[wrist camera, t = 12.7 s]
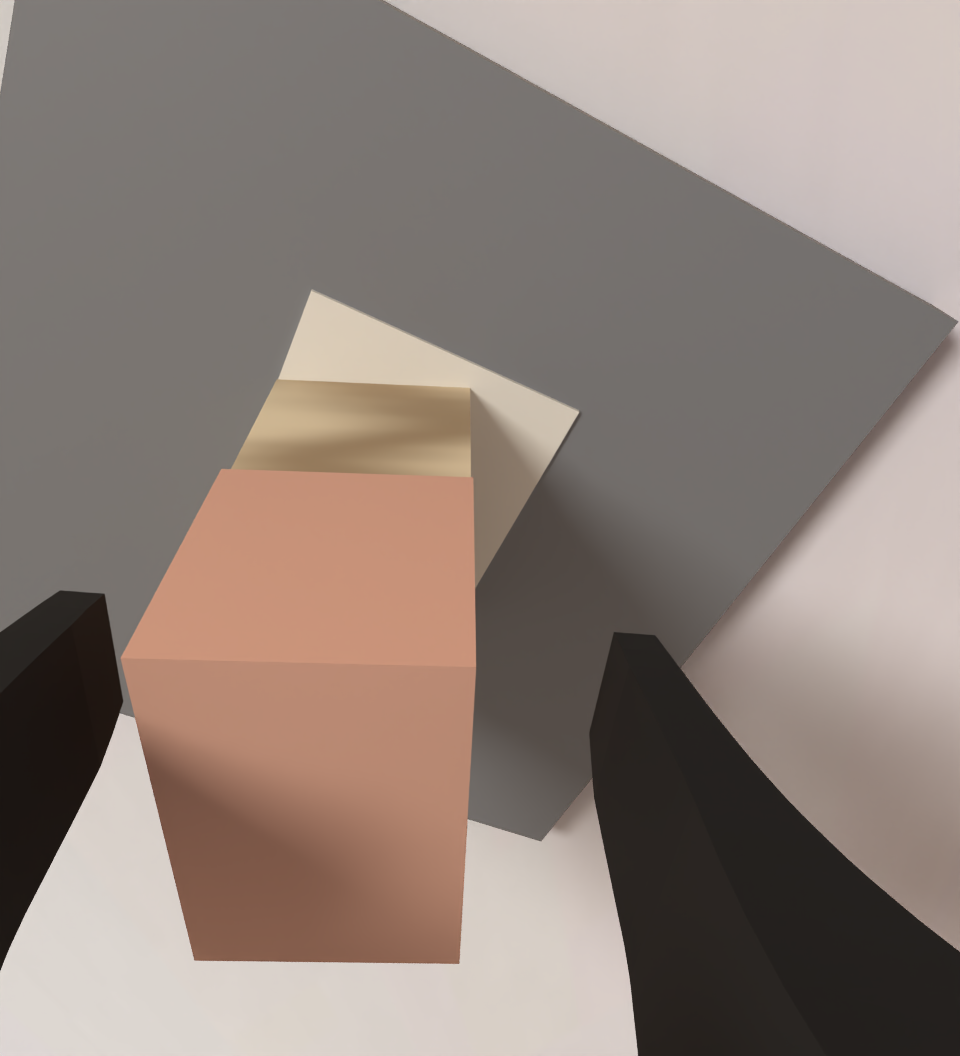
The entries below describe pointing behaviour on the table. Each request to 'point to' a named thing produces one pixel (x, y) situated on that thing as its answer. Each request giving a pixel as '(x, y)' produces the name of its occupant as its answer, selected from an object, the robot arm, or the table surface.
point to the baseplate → (411, 332)
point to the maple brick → (361, 429)
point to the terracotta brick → (315, 715)
